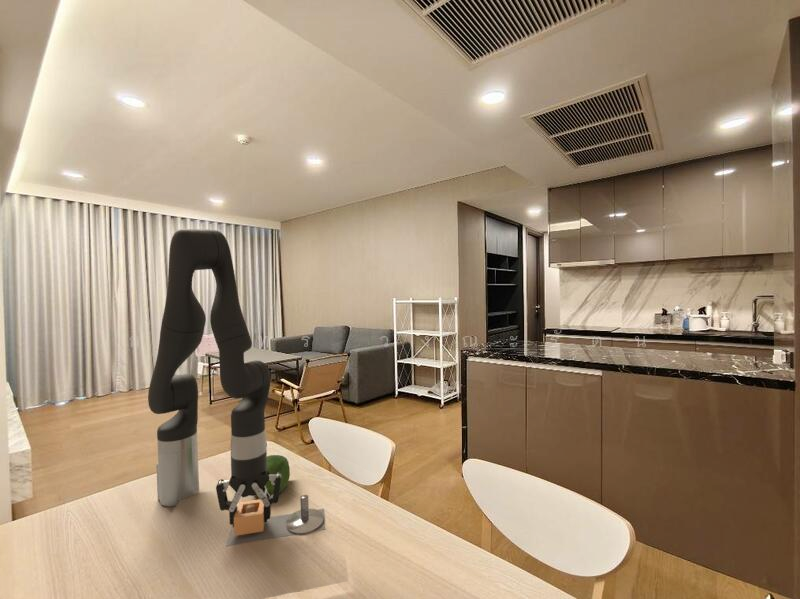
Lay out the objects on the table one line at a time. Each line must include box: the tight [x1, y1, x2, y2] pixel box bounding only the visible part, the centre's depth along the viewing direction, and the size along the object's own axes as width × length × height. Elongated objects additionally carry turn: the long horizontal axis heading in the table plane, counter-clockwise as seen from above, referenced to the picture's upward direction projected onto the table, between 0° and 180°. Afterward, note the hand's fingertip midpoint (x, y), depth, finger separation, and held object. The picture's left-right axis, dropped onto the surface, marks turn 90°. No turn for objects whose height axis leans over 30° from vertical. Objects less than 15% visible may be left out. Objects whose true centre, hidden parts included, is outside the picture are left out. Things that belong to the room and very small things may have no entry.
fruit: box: [256, 454, 291, 498], centre depth 103 cm, size 15×10×10 cm, turn 175°
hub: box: [286, 494, 325, 535], centre depth 87 cm, size 9×9×6 cm
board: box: [225, 508, 326, 547], centre depth 86 cm, size 21×8×2 cm, turn 104°
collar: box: [234, 498, 265, 536], centre depth 84 cm, size 6×6×4 cm
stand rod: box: [246, 505, 255, 513], centre depth 84 cm, size 2×2×6 cm
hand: (250, 522), depth 84 cm, fingers closed on collar, 6 cm apart
